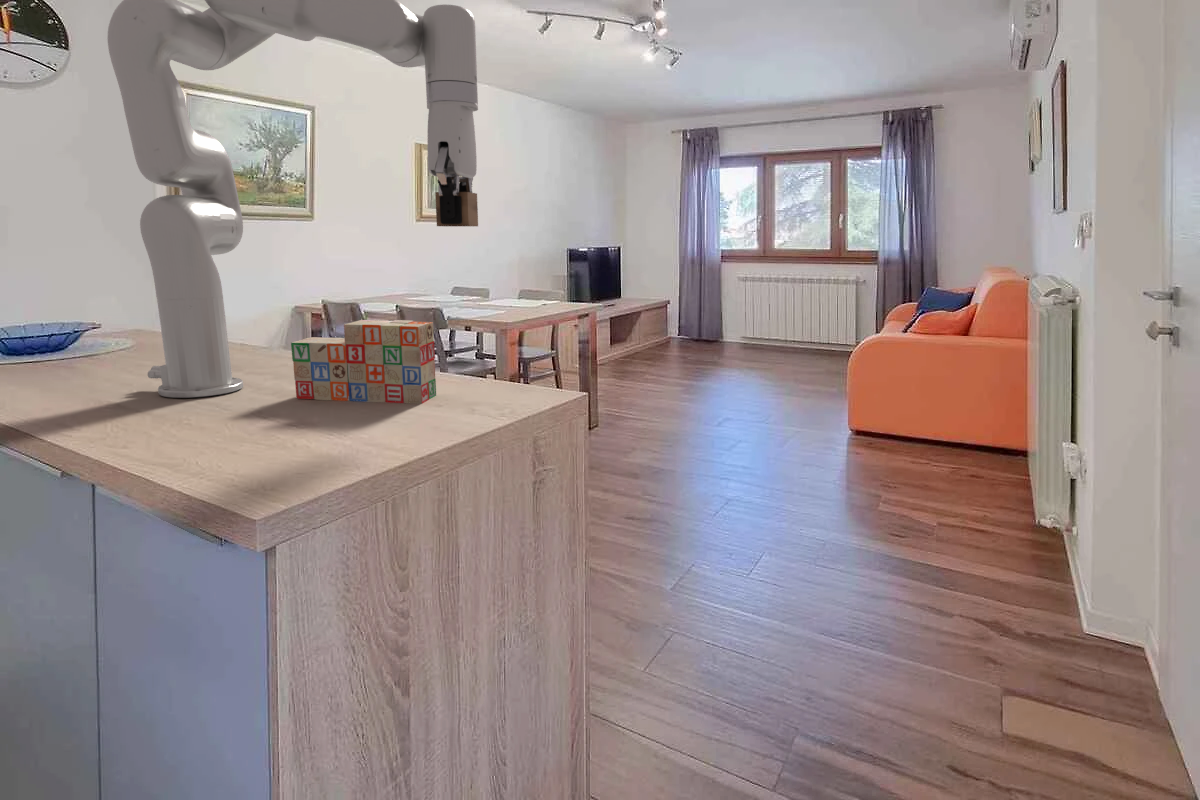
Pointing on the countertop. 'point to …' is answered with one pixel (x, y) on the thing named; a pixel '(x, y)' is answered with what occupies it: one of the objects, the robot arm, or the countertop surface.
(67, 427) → the countertop surface
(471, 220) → the walnut cube
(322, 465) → the countertop surface
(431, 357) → the stack of blocks
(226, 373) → the robot arm
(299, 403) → the countertop surface
